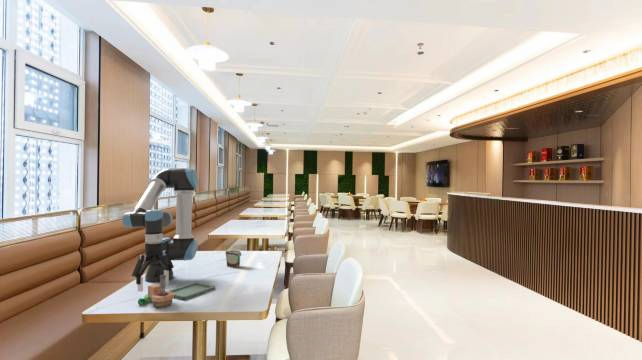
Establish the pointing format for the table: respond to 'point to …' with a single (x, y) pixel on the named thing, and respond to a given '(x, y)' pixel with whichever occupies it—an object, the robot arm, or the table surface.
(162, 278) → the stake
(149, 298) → the candy
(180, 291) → the tray
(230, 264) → the food container
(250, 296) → the table surface
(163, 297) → the ring
